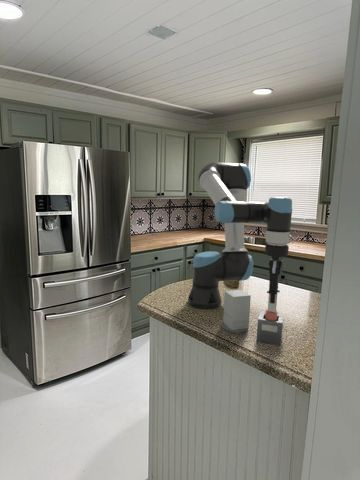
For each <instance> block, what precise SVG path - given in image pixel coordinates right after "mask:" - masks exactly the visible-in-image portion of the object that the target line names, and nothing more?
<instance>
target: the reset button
mask: <svg viewBox="0 0 360 480" xmlns="http://www.w3.org/2000/svg"><path fill="white" fill-rule="evenodd" d="M264 313H265V319H267V320H273V321H277V315H279V314H278V311H277V310H276V312H270V311H268V309H266V310H265V312H264Z"/></svg>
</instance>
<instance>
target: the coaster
mask: <svg viewBox="0 0 360 480" xmlns="http://www.w3.org/2000/svg"><path fill="white" fill-rule="evenodd" d="M222 328H223V329H224V330H223V329H222ZM221 329H222V330H223V331H224V332H227V331H228V332H227V333H229V332H231V333H230V334H234V333H239V334H240V333H242V334H246V333H247V332H248V331H249V328H245V329H236V330H231V329H230V328H229V327H228V326H227V325H225V324H224V323H223V321H222V322H221ZM239 334H238V335H239ZM240 335H241V334H240Z"/></svg>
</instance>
